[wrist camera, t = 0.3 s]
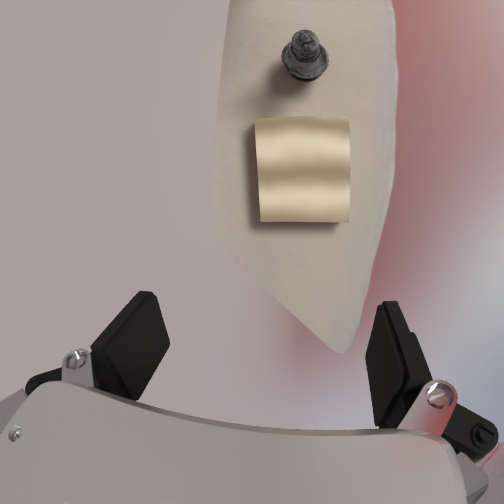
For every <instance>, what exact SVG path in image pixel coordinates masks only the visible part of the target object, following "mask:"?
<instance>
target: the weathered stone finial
mask: <svg viewBox="0 0 504 504" xmlns="http://www.w3.org/2000/svg"><path fill="white" fill-rule="evenodd" d="M282 62H283V65H284V67H285V68H286V69H287V71H288V72H289V74H290V75H291V76H292V77H294V78H295V79H297V80H300V81H313V80H315V79H317V78H319V77H320V76H321V75H322V73H323V72H324V71H325V70H326V68H327V66H328V62H329V58H328V54H327V51H326V50H325V48H324V47H323V46H322V45H321V44H319V39H318V37H317V35H316V34H315V33H313V32H312V31H309V30H300V31H298V32H296V33H295V34H294V36H293V37H292V41H291V42H289V43H288V44H287V45H286V46H285V47H284V49H283V51H282Z"/></svg>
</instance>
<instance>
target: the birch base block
mask: <svg viewBox="0 0 504 504" xmlns="http://www.w3.org/2000/svg"><path fill="white" fill-rule="evenodd" d="M254 124H255V139H256V154H257V170H258V186H259V203H260V220H261V222H343V223H349V203H350V130H349V118H348V117H270V118H254Z"/></svg>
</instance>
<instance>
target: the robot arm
mask: <svg viewBox="0 0 504 504" xmlns="http://www.w3.org/2000/svg"><path fill="white" fill-rule="evenodd" d="M169 345H170V340H169V337H168V334H167V330H166V327H165V324H164V320H163V317H162V314H161V310H160V307H159V303H158V300H157V297H156V296H155V295H154V294H153V293H152V292H149V291H139V292H138V293H137V294H136V295H135V296H134V297H133V298H132V300H131V301H130V302H129V303H128V304H127V305H126V306H125V307H124V308H123V309H122V311H121V312H120V313H119V314H118V315H117V316H116V317H115V318H114V320H113V321H112V322H111V323H110V324H109V325H108V326H107V328H106V329H105V330H104V331H103V332H102V333H101V334H100V336H99V337H98V338H97V339H96V340H95V342H94V343H93V344H92V345H91V346H90V347H91V349H92V352H91V353H89V352H88V351H87V350H85V349H77V350H74V351H71V352H70V353H68V354H67V355H66V356H65V358H64V359H63V362H62V367H61V368H58V369H55V370H52V371H48V372H45V373H42V374H39V375H36V376H34V377H32V378H31V379H30V380H29V381H28V382H27V384H26V387H25V391H24V389H21V390H19V391H17V392H16V393H14V394H12V395H11V396H9V397H7V398H6V399H4V400H2V401H0V504H504V442H502V443H501V444H500V443H499V442H498V431H497V428H496V427H495V425H494V424H493V423H491V422H490V421H488V420H486V419H484V418H482V417H481V416H479V415H477V414H476V413H474V412H472V411H470V410H468V409H467V408H465V407H463V406H461V405H459V404H458V403H457V399H458V397H457V392H456V390H455V388H454V387H453V386H452V385H451V384H449V383H448V382H446V381H443V380H433V379H432V376H431V373H430V371H429V368H428V365H427V363H426V360H425V357H424V355H423V352H422V349H421V347H420V344H419V342H418V339H417V337H416V335H415V333H413V332H410V330H409V328H408V326H407V323H406V321H405V318H404V316H403V314H402V311H401V309H400V307H399V305H398V302H397V301H383V303H382V305H378V307H377V311H376V315H375V320H374V324H373V329H372V332H371V336H370V340H369V344H368V347H367V351H366V357H365V360H366V366H367V372H368V379H369V385H370V392H371V399H372V406H373V414H374V423H375V426H379V429H360V430H359V429H358V430H301V429H282V428H269V427H259V426H250V425H242V424H235V423H228V422H221V421H216V420H210V419H204V418H200V417H195V416H190V415H186V414H181V413H177V412H173V411H168V410H165V409H160V408H157V407H153V406H150V405H146V404H143V403H139V402H136V400H139V398H140V397H141V395H142V393H143V391H144V389H145V388H146V386H147V384H148V383H149V381H150V379H151V377H152V375H153V374H154V372H155V371H156V369H157V367H158V365H159V363H160V362H161V360H162V358H163V357H164V355H165V353H166V352H167V350H168V348H169ZM465 490H466V492H465ZM466 493H467V497H466Z"/></svg>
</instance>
